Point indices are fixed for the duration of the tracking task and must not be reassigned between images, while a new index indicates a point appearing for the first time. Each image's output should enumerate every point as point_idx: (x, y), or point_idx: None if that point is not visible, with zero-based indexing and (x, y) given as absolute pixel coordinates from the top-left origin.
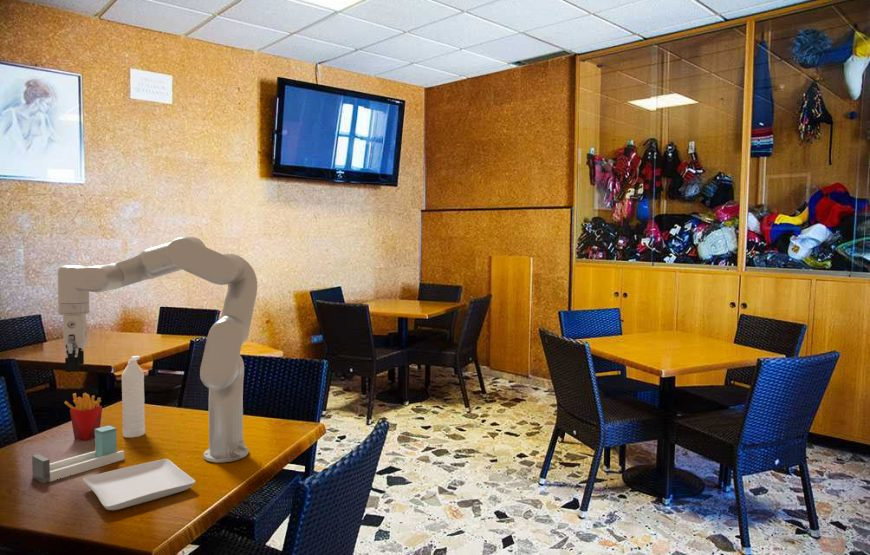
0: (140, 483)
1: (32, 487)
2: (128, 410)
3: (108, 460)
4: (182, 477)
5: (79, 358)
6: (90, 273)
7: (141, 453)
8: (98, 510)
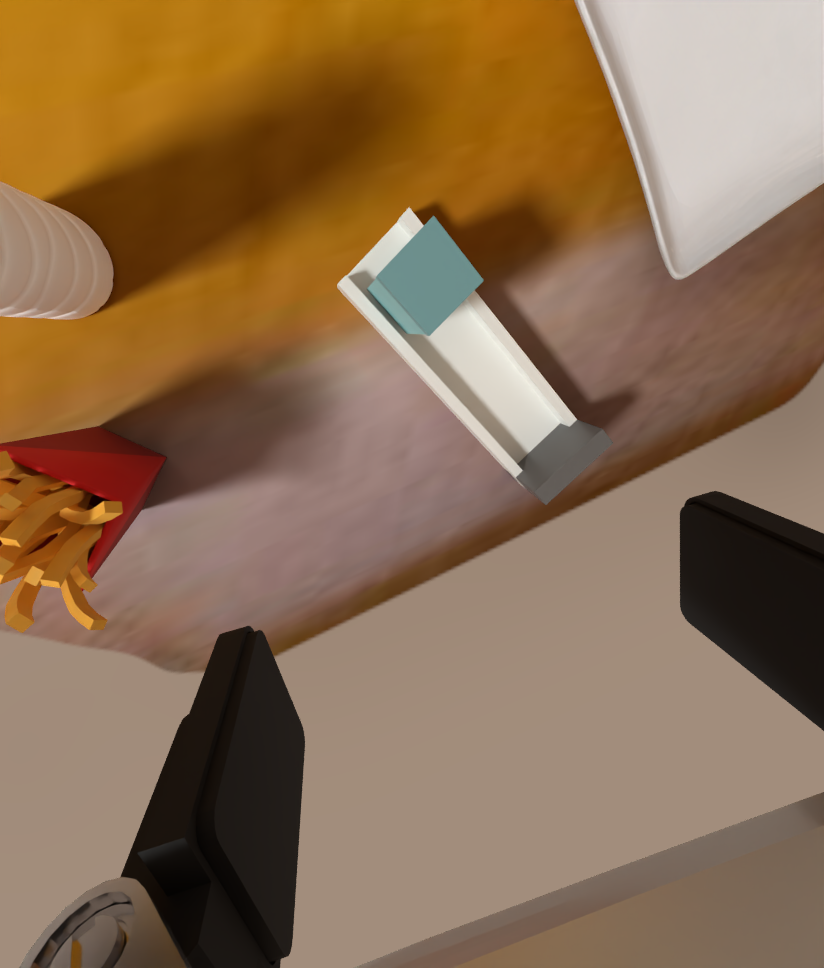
0: (696, 63)
1: None
2: (26, 254)
3: None
4: None
5: (264, 730)
6: None
7: (338, 152)
8: None
